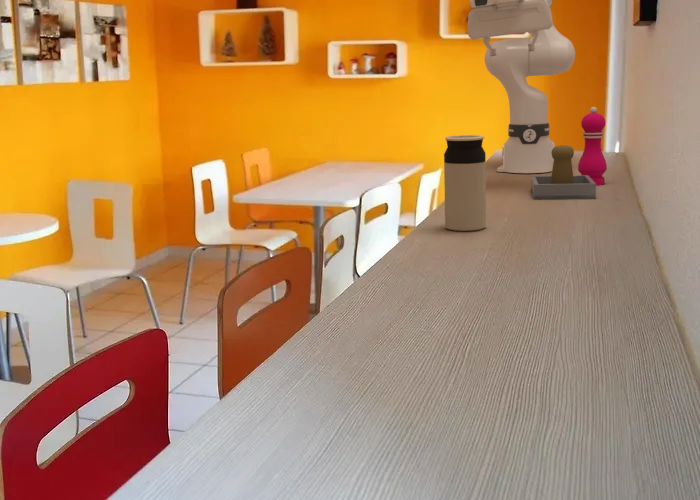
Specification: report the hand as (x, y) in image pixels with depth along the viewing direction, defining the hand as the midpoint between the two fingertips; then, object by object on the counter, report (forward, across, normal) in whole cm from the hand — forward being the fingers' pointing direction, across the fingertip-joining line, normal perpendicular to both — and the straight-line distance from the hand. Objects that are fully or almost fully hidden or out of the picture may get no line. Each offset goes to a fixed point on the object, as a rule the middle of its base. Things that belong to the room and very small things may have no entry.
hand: (512, 53), depth 199 cm
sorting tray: (+34, -10, +7) cm, 37 cm away
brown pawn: (+34, -10, +7) cm, 36 cm away
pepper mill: (+37, -16, -11) cm, 41 cm away
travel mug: (+30, +6, +53) cm, 61 cm away
